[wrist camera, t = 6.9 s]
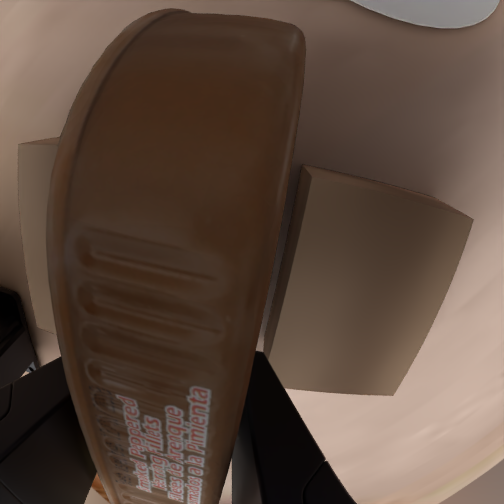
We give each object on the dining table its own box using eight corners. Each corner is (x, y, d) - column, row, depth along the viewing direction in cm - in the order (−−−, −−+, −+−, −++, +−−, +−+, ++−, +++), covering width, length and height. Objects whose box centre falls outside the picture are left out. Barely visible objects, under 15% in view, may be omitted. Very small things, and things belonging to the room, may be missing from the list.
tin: (225, 62, 9) (61, -64, 2) (317, 74, 9) (340, -95, 1) (183, 398, 15) (116, 536, 7) (244, 414, 14) (201, 565, 7)
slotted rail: (68, 295, 14) (37, 327, 12) (62, 136, 11) (18, 144, 9) (377, 353, 15) (393, 395, 12) (435, 198, 11) (473, 219, 9)
